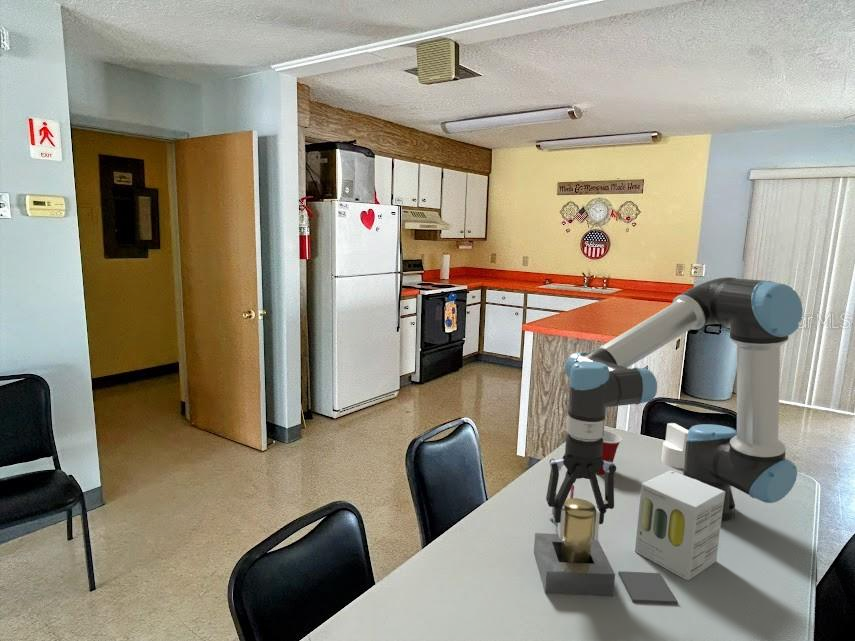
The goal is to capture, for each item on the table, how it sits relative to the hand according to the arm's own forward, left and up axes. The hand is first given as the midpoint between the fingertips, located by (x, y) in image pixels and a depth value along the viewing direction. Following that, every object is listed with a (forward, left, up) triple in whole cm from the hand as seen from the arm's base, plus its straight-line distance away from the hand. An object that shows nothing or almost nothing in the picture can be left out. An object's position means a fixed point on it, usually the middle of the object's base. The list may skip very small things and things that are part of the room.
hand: (577, 535), depth 114 cm
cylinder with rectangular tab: (-48, -61, -9) cm, 78 cm away
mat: (-14, +4, -9) cm, 17 cm away
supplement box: (-25, -8, -9) cm, 28 cm away
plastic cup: (-21, -53, -9) cm, 58 cm away
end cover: (0, 0, -6) cm, 6 cm away
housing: (+1, 0, -9) cm, 9 cm away
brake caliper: (-3, -20, -9) cm, 22 cm away
